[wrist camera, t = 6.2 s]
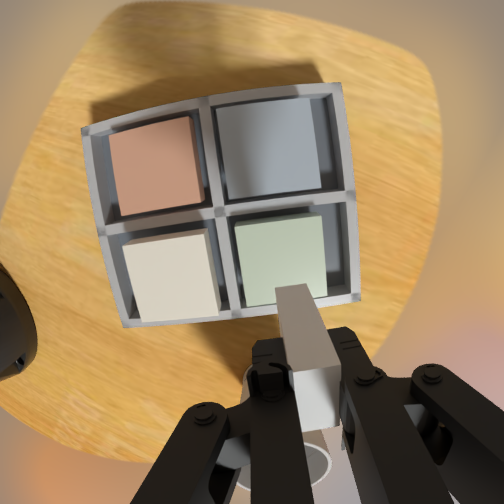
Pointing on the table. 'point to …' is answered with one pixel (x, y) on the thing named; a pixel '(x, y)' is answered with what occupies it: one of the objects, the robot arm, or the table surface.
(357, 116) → the table surface
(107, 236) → the keypad base
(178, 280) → the key cream
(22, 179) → the table surface
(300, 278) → the key sage
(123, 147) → the key terracotta
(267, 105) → the key slate
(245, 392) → the cup
